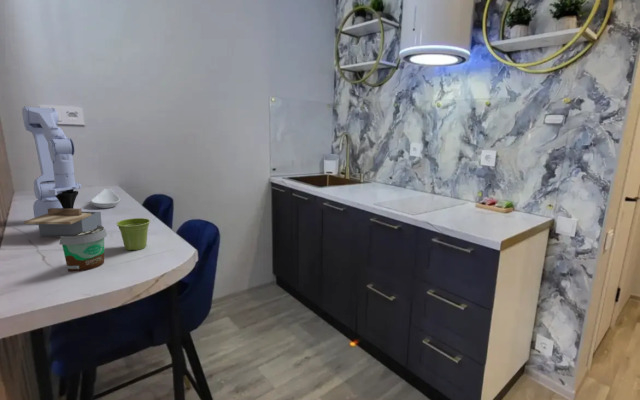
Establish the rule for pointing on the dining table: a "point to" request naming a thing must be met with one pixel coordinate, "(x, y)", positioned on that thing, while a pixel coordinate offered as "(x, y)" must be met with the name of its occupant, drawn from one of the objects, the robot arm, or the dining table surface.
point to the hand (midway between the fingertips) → (68, 211)
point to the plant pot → (134, 233)
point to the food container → (84, 249)
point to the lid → (59, 216)
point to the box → (71, 226)
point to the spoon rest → (106, 199)
